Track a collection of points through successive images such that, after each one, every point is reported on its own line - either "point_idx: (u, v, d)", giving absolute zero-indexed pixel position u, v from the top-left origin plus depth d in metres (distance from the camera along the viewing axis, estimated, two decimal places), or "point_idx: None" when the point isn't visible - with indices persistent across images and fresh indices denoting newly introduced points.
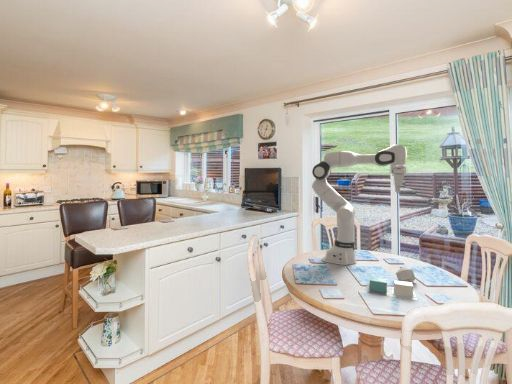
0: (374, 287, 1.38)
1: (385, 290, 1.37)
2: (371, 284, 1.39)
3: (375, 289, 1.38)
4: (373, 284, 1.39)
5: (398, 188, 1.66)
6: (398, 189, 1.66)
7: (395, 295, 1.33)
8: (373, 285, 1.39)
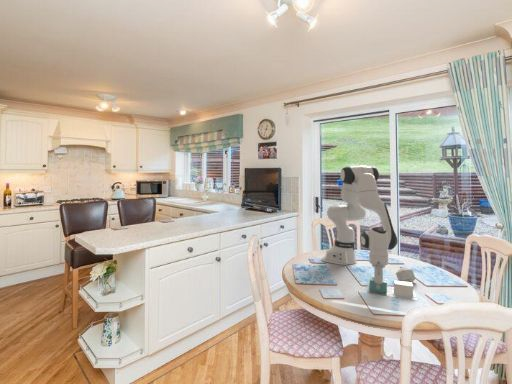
0: (374, 287, 1.38)
1: (385, 290, 1.37)
2: (371, 284, 1.39)
3: (375, 289, 1.38)
4: (373, 284, 1.39)
5: None
6: None
7: (395, 295, 1.33)
8: (373, 285, 1.39)
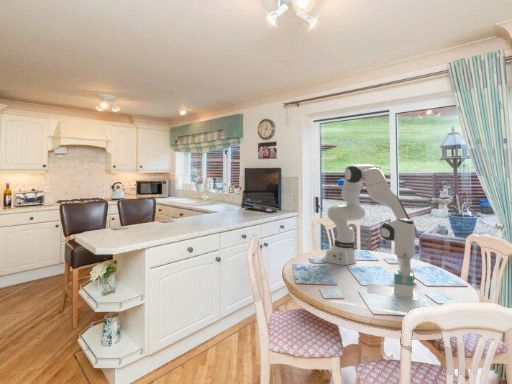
0: (400, 281, 1.34)
1: (412, 284, 1.32)
2: (397, 278, 1.34)
3: (400, 283, 1.34)
4: (399, 277, 1.34)
5: None
6: None
7: (395, 295, 1.33)
8: (399, 279, 1.34)
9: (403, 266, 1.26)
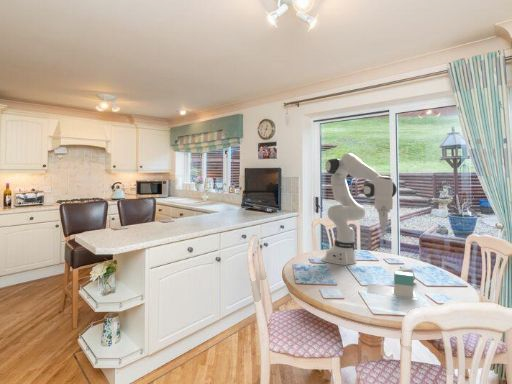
0: (400, 281, 1.34)
1: (412, 284, 1.32)
2: (397, 278, 1.34)
3: (400, 283, 1.34)
4: (399, 277, 1.34)
5: None
6: None
7: (395, 295, 1.33)
8: (399, 279, 1.34)
9: (381, 216, 1.40)
